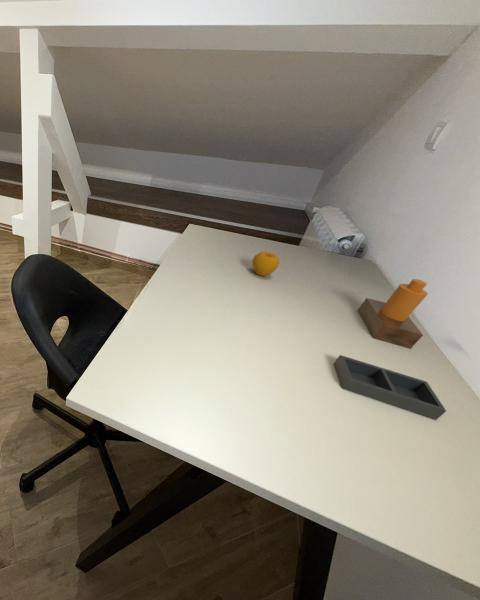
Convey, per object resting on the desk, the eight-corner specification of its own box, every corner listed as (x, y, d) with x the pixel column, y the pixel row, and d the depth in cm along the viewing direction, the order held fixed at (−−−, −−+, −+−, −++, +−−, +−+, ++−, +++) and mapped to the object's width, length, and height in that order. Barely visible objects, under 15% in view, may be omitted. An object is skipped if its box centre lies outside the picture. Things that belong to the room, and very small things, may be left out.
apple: (243, 270, 120) (252, 249, 115) (258, 267, 123) (268, 247, 118) (260, 281, 113) (271, 259, 108) (277, 278, 116) (288, 257, 111)
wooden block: (390, 319, 99) (400, 306, 97) (410, 348, 87) (423, 335, 84) (357, 310, 102) (366, 297, 99) (372, 337, 90) (383, 324, 87)
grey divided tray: (331, 365, 78) (339, 354, 76) (416, 392, 73) (426, 381, 71) (340, 390, 71) (349, 379, 69) (433, 421, 66) (446, 411, 64)
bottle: (401, 312, 93) (428, 280, 87) (409, 323, 88) (438, 289, 82) (377, 306, 95) (402, 274, 89) (383, 316, 90) (411, 283, 84)
